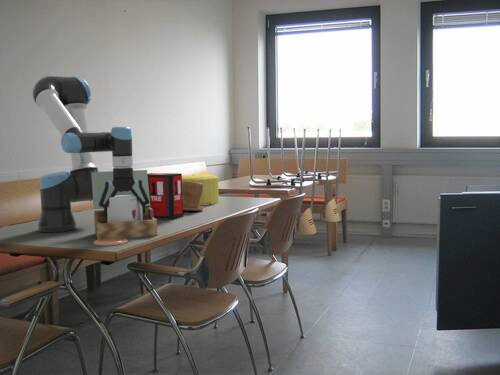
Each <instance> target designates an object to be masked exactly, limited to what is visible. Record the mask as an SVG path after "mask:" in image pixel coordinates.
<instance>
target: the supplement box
mask: <svg viewBox="0 0 500 375" xmlns="http://www.w3.org/2000/svg"><path fill="white" fill-rule="evenodd" d="M138 196H139V195H138ZM109 210H110V223H113V222H128V221H140V210H139V201H138V199H137V198H136V196H134V195H118V196H114V197H110V198H109Z"/></svg>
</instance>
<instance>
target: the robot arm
mask: <svg viewBox="0 0 500 375" xmlns="http://www.w3.org/2000/svg"><path fill="white" fill-rule="evenodd" d="M91 96H92V93H91V88H90V85H89V84H88V82H87V81H86V80H85V79H84V78H82V77H76V76H54V75H53V76H52V75H49V76H48V75H47V76H44V77H42V78H40V79H39V80H38V81H37V82H36V83H35V85H34V86H33V88H32V97H33V101H34V103H35V105H36V106H37V107H38V108H39V109H41V110H43V111H44V113H45V114H46V116H47V117H48V119H49V120H50V122H51V123H52V124H53V126H54V127H55V128H56V130H57V131H58V133H59V134H60V135H61V137H60V145H61V148H62V150H63V152H64V153H66V154H70V158H71V159H70V160H71V169H70V170H69V171H60V172H58V171H57V172H52V173H47V174H44V175H42V176H41V177H40V179H39V192H40V208H41V211H40V216H39V220H38V223H37V231H38V232H40V233H60V232H61V233H62V232H68V231H69V232H70V231H73V230H76V229H77V221H76V219H75V216H74V214H73V211H72V204H73V203H81V202H88V201H89V202H92V201H93V189H92V175H91V172H99V169H98V167H97V166H96V165H95V164H94V161H93V160H94V159H93V154H92V153H106V152H107V153H109V152H111V153H112V155H111V156H112V157H111V158H112V160H111V161H112V167H113V169H112V171H113V181H112V182H108V181H105V188H104V191H103V194H102V197H101V199H100V202H99V206H100V207H103V208H104V209H103V210H104V215H105V216H107V223H110V208H109V207H108V205H109V198H110V197H114V196H115V195H116V194H117V192H118V191H119V192H123V191H126V192H128V191H131V192H132V193H133V195H134V196H136V198H137V199H138V201H139V202H140V203H141V205H139V210H140V221H142V220H143V214H145V205H146V204H149V203H150V202H149V199H148V197H147V195H146V193H145V191H144V188H143V186H142V181H141V180H134V179H133V170H134V168H133V165H134V164H133V163H134V162H133V136H132V129H131V126H112V128H111V130H110V132H109V131H103V132H89V130H88V125H87V124H88V123H87V120H86V113H85V112H86V109H87V108H88V104H90V101H91ZM135 183H136V185H137V186H139V189H140V191H141V193H142V195H143V197H144V199H145V201H144V202H143V200H142V199H141V198H140V197H139V196H138V194H137V193H136V192H135V190H134V189H133V188H132V187H133V185H134V184H135ZM112 184H113V186H114V187H115V189H114V190H113V192H112V194H111V195H110V197H109V198H108V200H107V201H106V203H105V204H103V203H104V200H105V197H106V194H107V192H108V189H109V187H110V186H111V185H112Z"/></svg>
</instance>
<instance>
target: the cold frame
mask: <svg viewBox="0 0 500 375" xmlns="http://www.w3.org/2000/svg"><path fill="white" fill-rule="evenodd" d="M93 217H94V218H93V220H94V234H95V236H96V240H99V239H105V238H125V239H127V238H129V239H130V238H131V237H132V238H143V236H145V237H156V236H155V235H157V236H158V219H155V218H154V217H153V209H152V208H151V207H148V208H145V214H143V220H142V221H128V222H113V223H107V216H105V215H104V209H98V210H93Z"/></svg>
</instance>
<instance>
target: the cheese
mask: <svg viewBox="0 0 500 375" xmlns="http://www.w3.org/2000/svg"><path fill="white" fill-rule="evenodd" d="M184 181H189V182H198V183H202V184H203V191H202V195H201V198H200V201H199V204H200V205H203V206H209V204H212V205H216V203H217V204H218V203H220V202H219V201H220V200H219V199H220V198H219V196H220V195H219V193H220V192H219V177H218V176H217V175H215V174H210V173H209V174H206V173H205V174H204V173H199V174H198V173H197V174H195V173H194V174H192V175H182V183H183V182H184ZM182 198H183V195H182Z"/></svg>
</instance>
